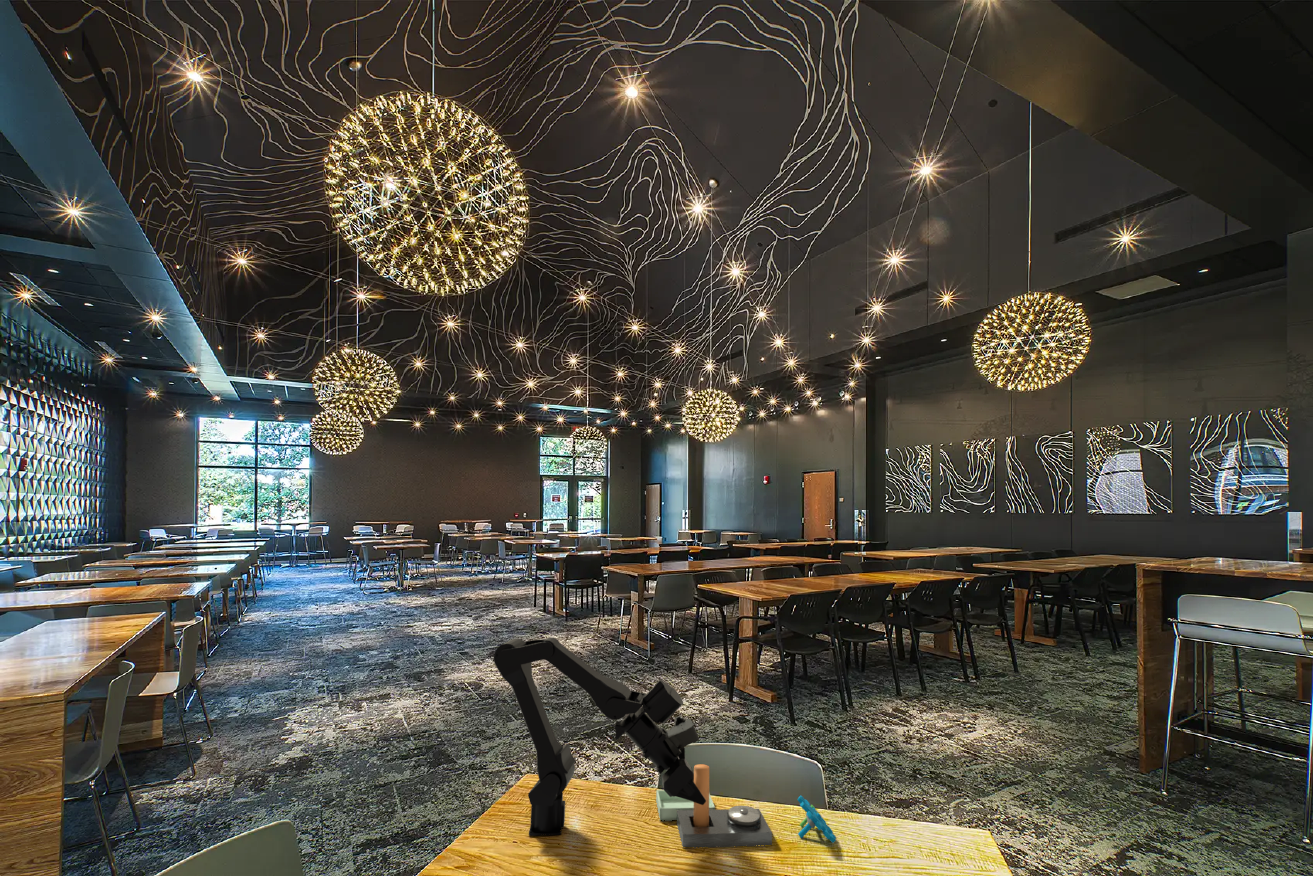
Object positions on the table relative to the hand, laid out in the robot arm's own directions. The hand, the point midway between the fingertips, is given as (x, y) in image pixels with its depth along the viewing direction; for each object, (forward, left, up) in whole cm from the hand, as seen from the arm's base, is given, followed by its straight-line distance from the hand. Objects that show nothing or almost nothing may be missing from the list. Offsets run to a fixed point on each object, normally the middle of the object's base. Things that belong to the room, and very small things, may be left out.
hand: (700, 792), depth 124 cm
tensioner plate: (+5, 0, -8) cm, 9 cm away
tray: (-2, +11, -8) cm, 13 cm away
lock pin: (0, 0, -8) cm, 8 cm away
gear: (+24, -2, -8) cm, 25 cm away
